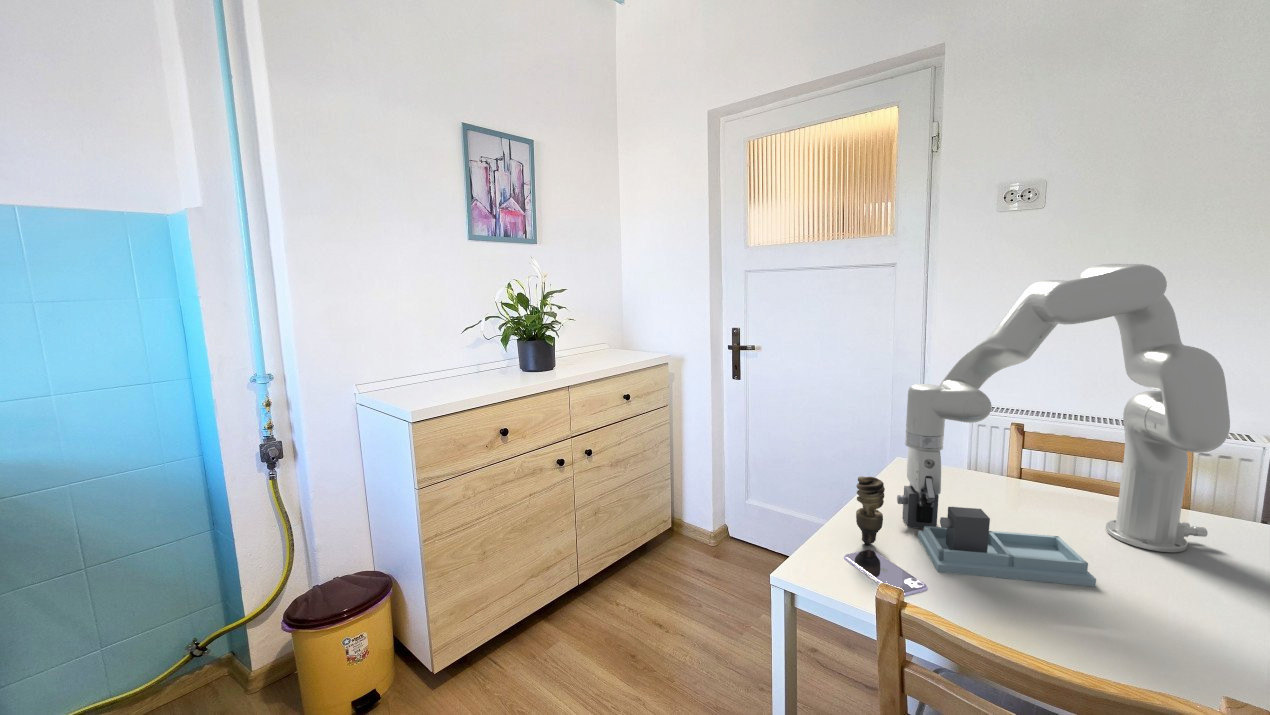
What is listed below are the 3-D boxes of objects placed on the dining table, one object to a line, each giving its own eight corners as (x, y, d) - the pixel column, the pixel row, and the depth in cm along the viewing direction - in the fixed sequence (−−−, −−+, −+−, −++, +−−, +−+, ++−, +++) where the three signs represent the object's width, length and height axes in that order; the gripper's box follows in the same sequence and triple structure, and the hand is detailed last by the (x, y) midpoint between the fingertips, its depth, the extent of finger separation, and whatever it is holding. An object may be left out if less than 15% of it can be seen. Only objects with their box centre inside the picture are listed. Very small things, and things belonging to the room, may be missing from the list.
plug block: (930, 520, 125) (932, 487, 124) (936, 529, 121) (938, 495, 120) (894, 517, 127) (896, 485, 126) (899, 526, 123) (900, 493, 121)
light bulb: (849, 538, 118) (851, 472, 115) (873, 536, 118) (876, 471, 116) (862, 551, 112) (865, 482, 110) (887, 549, 113) (890, 481, 110)
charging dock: (1055, 548, 111) (1057, 532, 111) (1095, 586, 98) (1097, 568, 97) (917, 537, 117) (918, 522, 117) (937, 571, 104) (938, 554, 103)
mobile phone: (871, 547, 113) (930, 585, 99) (871, 551, 113) (930, 590, 99) (841, 554, 110) (897, 594, 96) (840, 558, 110) (897, 599, 96)
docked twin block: (978, 545, 110) (981, 508, 109) (986, 557, 106) (989, 518, 105) (936, 542, 112) (939, 506, 111) (943, 553, 108) (946, 515, 107)
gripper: (955, 453, 111) (950, 534, 114) (931, 429, 128) (926, 501, 131) (916, 451, 113) (911, 531, 116) (896, 428, 130) (893, 498, 133)
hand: (919, 514), depth 123 cm, fingers open, 6 cm apart
